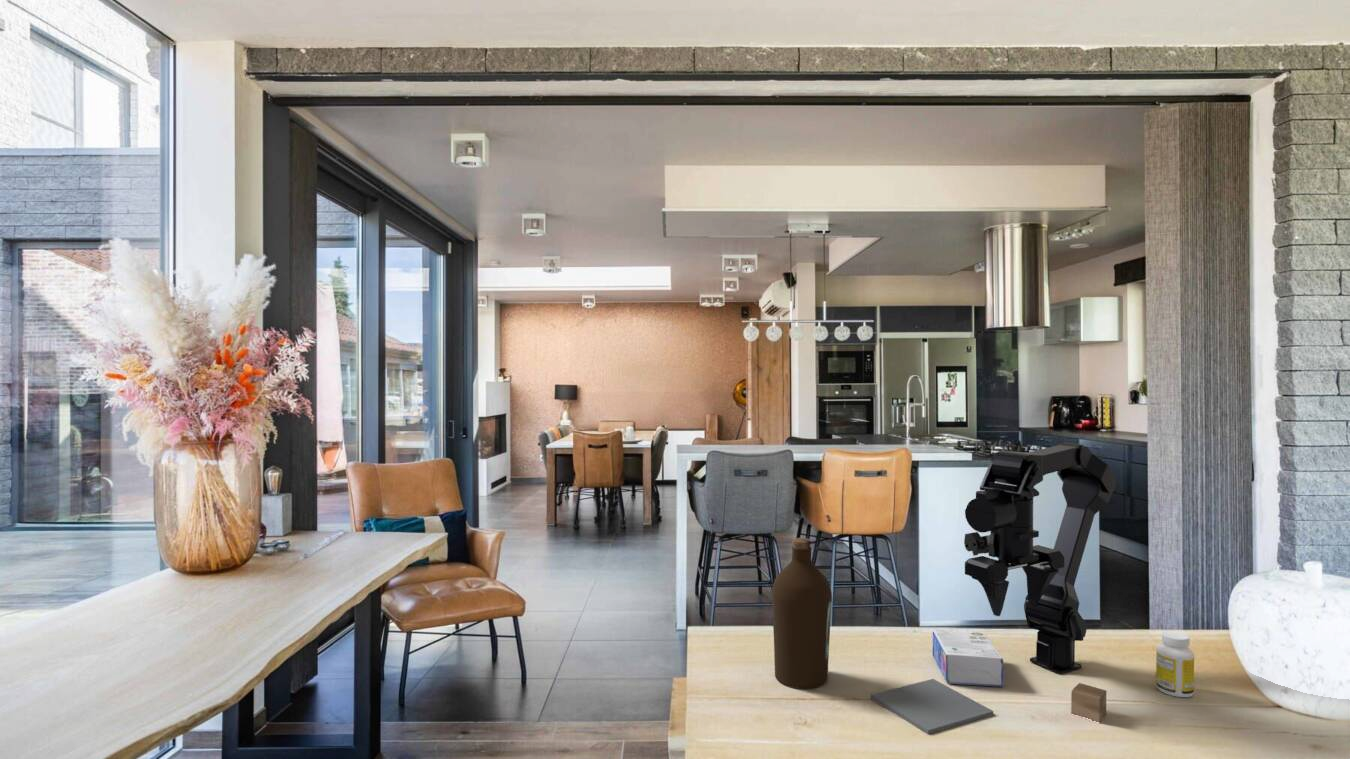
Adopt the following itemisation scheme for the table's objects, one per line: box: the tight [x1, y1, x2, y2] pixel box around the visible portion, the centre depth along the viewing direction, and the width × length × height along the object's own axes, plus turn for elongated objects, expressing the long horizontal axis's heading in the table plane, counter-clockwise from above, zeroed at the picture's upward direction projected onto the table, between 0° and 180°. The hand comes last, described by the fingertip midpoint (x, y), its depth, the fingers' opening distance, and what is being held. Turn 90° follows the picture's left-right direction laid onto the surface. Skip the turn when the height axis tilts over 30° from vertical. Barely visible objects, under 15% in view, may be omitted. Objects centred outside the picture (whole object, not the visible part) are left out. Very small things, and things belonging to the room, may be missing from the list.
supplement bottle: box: [1155, 630, 1195, 698], centre depth 126 cm, size 5×5×10 cm
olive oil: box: [771, 537, 833, 690], centre depth 131 cm, size 11×11×25 cm
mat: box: [870, 678, 994, 735], centre depth 120 cm, size 14×13×1 cm
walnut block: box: [1070, 682, 1108, 723], centre depth 118 cm, size 4×4×4 cm
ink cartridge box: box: [932, 629, 1004, 688], centre depth 135 cm, size 10×6×14 cm
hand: (1014, 611), depth 129 cm, fingers open, 9 cm apart
